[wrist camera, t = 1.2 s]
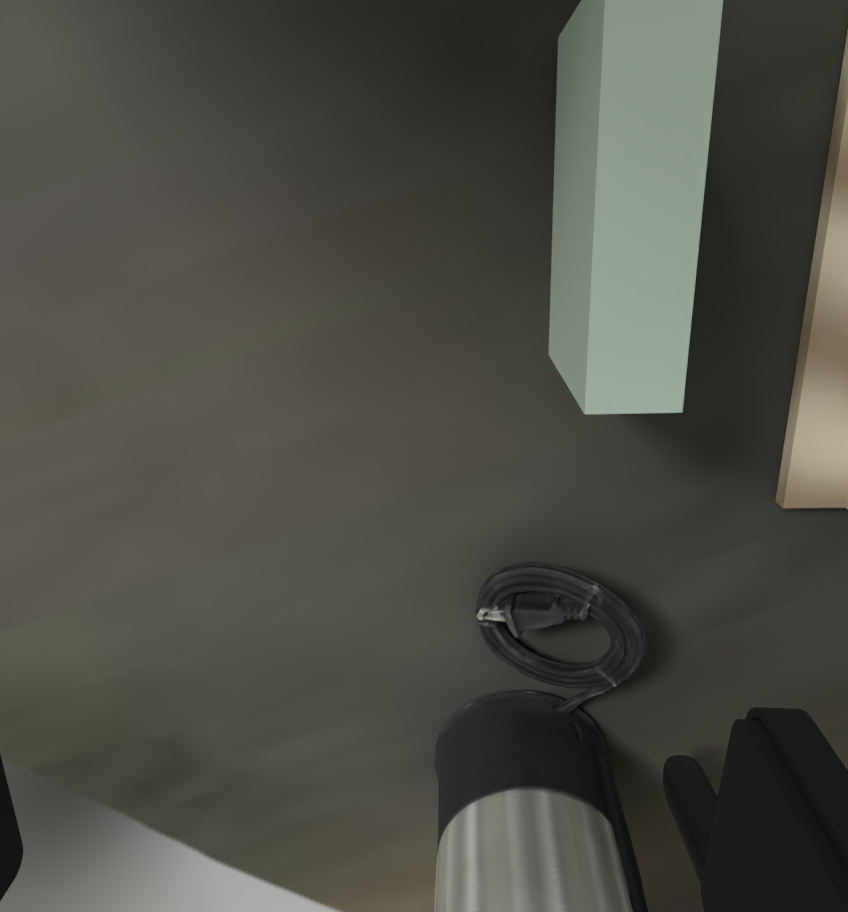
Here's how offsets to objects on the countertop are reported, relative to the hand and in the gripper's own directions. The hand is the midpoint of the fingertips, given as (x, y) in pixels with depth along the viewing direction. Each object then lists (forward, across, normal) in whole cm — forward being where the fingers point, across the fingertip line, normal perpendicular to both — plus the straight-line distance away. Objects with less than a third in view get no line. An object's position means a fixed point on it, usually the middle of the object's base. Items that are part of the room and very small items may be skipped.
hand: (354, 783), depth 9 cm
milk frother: (+24, -6, +17) cm, 30 cm away
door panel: (+23, -6, -7) cm, 25 cm away
